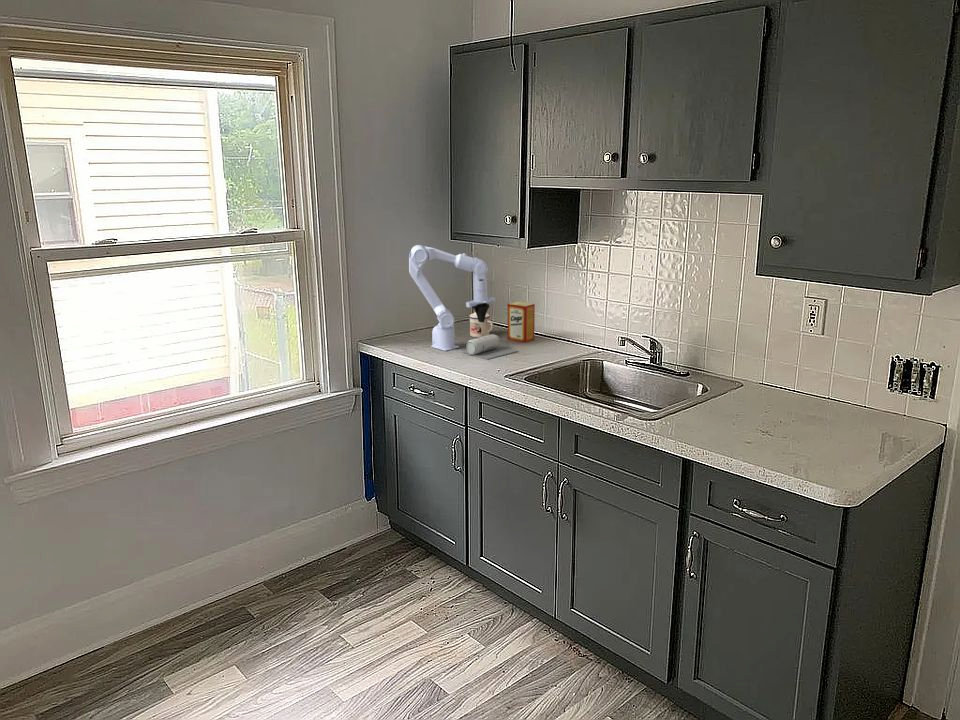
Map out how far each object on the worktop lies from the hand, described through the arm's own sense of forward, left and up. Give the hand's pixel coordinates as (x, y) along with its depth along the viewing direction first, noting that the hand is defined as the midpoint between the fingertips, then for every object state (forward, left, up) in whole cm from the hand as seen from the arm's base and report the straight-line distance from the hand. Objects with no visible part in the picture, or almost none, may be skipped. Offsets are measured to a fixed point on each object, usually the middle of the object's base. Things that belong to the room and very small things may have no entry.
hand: (481, 321), depth 307 cm
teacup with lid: (-13, +13, -11) cm, 21 cm away
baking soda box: (+4, +20, -11) cm, 23 cm away
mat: (+10, -4, -10) cm, 15 cm away
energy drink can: (+8, -14, -7) cm, 18 cm away
